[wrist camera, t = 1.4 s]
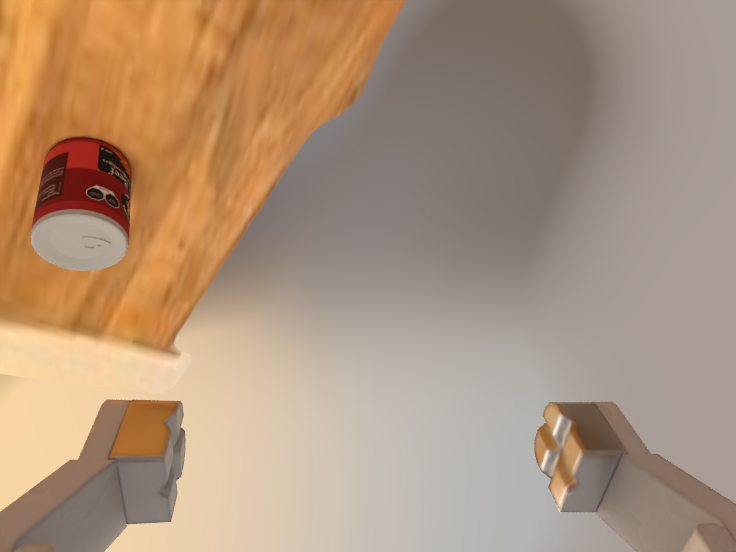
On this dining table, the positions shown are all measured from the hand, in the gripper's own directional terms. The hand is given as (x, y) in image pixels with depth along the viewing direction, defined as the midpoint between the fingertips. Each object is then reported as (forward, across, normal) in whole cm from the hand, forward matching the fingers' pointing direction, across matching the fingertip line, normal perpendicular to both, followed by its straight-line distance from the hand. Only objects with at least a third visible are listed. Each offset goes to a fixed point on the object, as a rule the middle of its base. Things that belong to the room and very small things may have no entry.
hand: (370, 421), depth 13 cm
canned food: (+50, +22, +13) cm, 56 cm away
